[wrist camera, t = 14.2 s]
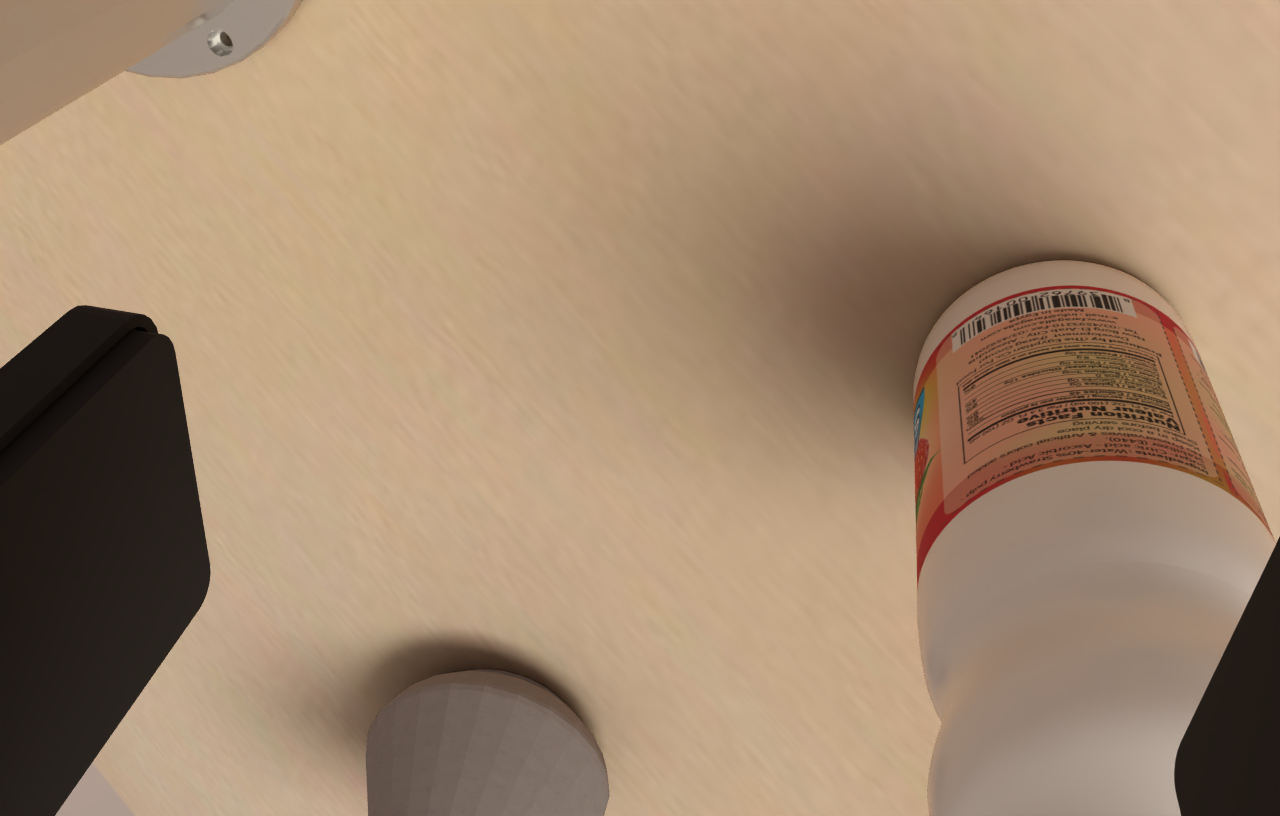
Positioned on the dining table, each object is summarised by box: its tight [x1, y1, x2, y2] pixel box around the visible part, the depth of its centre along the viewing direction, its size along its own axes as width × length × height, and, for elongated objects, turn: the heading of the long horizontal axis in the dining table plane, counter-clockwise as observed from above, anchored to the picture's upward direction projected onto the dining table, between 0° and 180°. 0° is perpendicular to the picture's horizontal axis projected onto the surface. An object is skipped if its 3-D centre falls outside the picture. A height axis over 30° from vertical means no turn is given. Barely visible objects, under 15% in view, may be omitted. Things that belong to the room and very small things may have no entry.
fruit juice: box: [913, 260, 1276, 816], centre depth 31 cm, size 9×9×28 cm
